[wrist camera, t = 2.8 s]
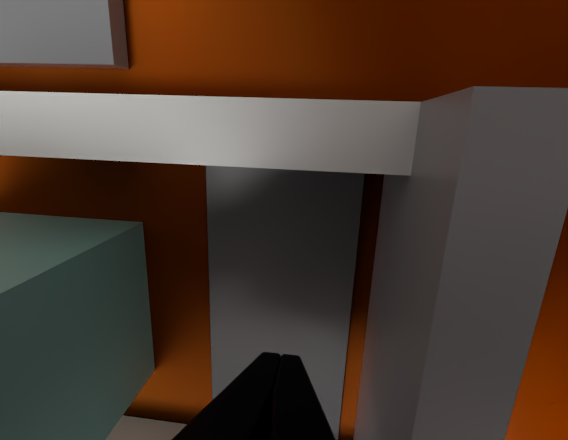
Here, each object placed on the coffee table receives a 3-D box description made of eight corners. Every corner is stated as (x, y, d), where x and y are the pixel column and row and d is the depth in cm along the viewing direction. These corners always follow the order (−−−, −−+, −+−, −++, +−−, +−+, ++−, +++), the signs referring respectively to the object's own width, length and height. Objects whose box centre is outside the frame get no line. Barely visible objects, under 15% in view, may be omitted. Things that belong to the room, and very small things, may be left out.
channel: (444, 112, 8) (601, 89, 3) (386, 481, 11) (427, 719, 6) (-119, 95, 9) (-506, 66, 5) (-30, 419, 12) (-222, 575, 8)
